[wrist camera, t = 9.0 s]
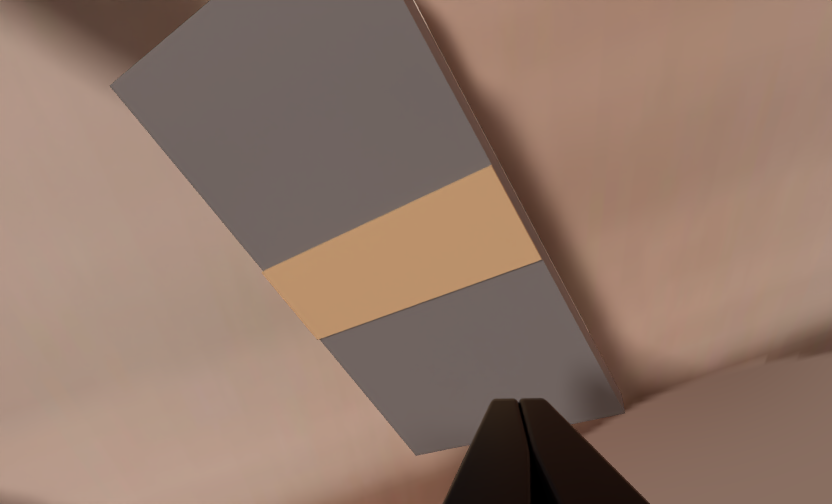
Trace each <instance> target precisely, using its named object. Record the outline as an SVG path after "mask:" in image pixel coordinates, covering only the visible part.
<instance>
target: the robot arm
mask: <svg viewBox="0 0 832 504" xmlns="http://www.w3.org/2000/svg"><path fill="white" fill-rule="evenodd" d="M443 504H650V503H648V501H647V500H646V499H645V498H644V497H643V496H641V494H640V493H639V492H638V491H637V490H636V489H635V488H634V487H633V486H632V485H631V484H630V483H629V482H628V481H626V480H625V478H624V477H622V475H620V473H619V472H618V471H617V470H616V469H615V468H614V467H612V465H611V464H610V463H609V462H608V461H607V460H606V459H605V458H604V457H603V456H602V455H601V454H600V453H598V451H597V450H596V449H595V448H593V446H592V445H591V444H590V443H588V441H587V440H586V439H585V438H584V437H583V436H582V435H581V434H580V433H579V432H578V431H577V430H576V429H575V428H574V427H573V426H572V425H571V424H570V423H569V422H568V421H567V420H566V419H565V418H564V417H563V416H562V415H561V414H560V413H559V412H558V411H557V410H556V409H555V408H554V407H553V406H552V405H551V404H550V403H549V402H548V401H547V400H545V399H544V398H521V399H520V400H519V402H518V401H517V400H516V399H514V398H503V399H493V400H492V401H491V402H490V404H489V407H488V409H487V411H486V413H485V415H484V417H483V419H482V421H481V423H480V426H479V428H478V430H477V432H476V434H475V436H474V438H473V440H472V442H471V444H470V447H469V449H468V451H467V453H466V455H465V457H464V459H463V461H462V463H461V466H460V468H459V470H458V472H457V474H456V476H455V478H454V480H453V482H452V485H451V487H450V489H449V491H448V493H447V495H446V497H445V499H444V501H443Z"/></svg>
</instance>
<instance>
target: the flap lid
mask: <svg viewBox="0 0 832 504" xmlns="http://www.w3.org/2000/svg"><path fill="white" fill-rule="evenodd" d="M110 87H111V88H112V89H113V90H114V92H115V93H116V94H117V95H118V96H119V98H120V99H121V100H122V101H123V103H124V104H125V105H126V106H127V107H128V109H129V110H130V111H131V112H132V113H133V115H134V116H135V117H136V118H137V119H138V121H139V122H140V123H141V124H142V125H143V127H144V128H145V129H146V130H147V131H148V133H149V134H150V135H151V136H152V138H153V139H154V140H155V141H156V142H157V144H158V145H159V146H160V147H161V148H162V150H163V151H164V152H165V153H166V154H167V156H168V157H169V158H170V159H171V160H172V162H173V163H174V164H175V165H176V166H177V168H178V169H179V170H180V171H181V173H182V174H183V175H184V176H185V177H186V179H187V180H188V181H189V182H190V183H191V185H192V186H193V187H194V188H195V189H196V191H197V192H198V193H199V194H200V195H201V197H202V198H203V199H204V200H205V202H206V203H207V204H208V205H209V206H210V208H211V209H212V210H213V211H214V212H215V214H216V215H217V216H218V217H219V218H220V220H221V221H222V222H223V223H224V224H225V226H226V227H227V228H228V229H229V230H230V232H231V233H232V234H233V235H234V237H235V238H236V239H237V240H238V241H239V243H240V244H241V245H242V246H243V247H244V249H245V250H246V251H247V252H248V253H249V255H250V256H251V257H252V258H253V259H254V261H255V262H256V263H257V264H258V265H259V267H260V268H261V269H262V270H263V272H262V274H263V275H264V276H265V277H266V279H267V280H268V281H269V282H270V283H271V285H272V286H273V287H274V288H275V289H276V291H277V292H278V293H279V294H280V295H281V297H282V298H283V299H284V300H285V302H286V303H287V304H288V305H289V306H290V308H291V309H292V310H293V311H294V312H295V314H296V315H297V316H298V317H299V318H300V320H301V321H302V322H303V323H304V324H305V326H306V327H307V328H308V329H309V330H310V332H311V333H312V334H313V335H314V336H315V338H316V339H317V340H319V339H320V340H321V342H322V343H323V344H324V345H325V346H326V348H327V349H328V350H329V351H330V352H331V354H332V355H333V356H334V357H335V358H336V360H337V361H338V362H339V363H340V364H341V366H342V367H343V368H344V369H345V371H346V372H347V373H348V374H349V375H350V377H351V378H352V379H353V380H354V381H355V383H356V384H357V385H358V386H359V387H360V389H361V390H362V391H363V392H364V393H365V395H366V396H367V397H368V398H369V399H370V401H371V402H372V403H373V404H374V406H375V407H376V408H377V409H378V410H379V412H380V413H381V414H382V415H383V416H384V418H385V419H386V420H387V421H388V422H389V424H390V425H391V426H392V427H393V428H394V430H395V431H396V432H397V433H398V435H399V436H400V437H401V438H402V439H403V441H404V442H405V443H406V444H407V445H408V447H409V448H410V449H411V450H412V451H413V453H414V454H415V455H416V456H417V455H422V454H427V453H432V452H437V451H442V450H446V449H451V448H456V447H461V446H466V445H470V444H471V442H472V440H473V438H474V436H475V434H476V432H477V430H478V428H479V426H480V423H481V421H482V419H483V417H484V415H485V413H486V411H487V409H488V407H489V404H490V402H491V401H492V400H493V399H503V398H514V399H516V400H517V401H518V402H519V400H520V399H521V398H544V399H545V400H547V401H548V402H549V403H550V404H551V405H552V406H553V407H554V408H555V409H556V410H557V411H558V412H559V413H560V414H561V415H562V416H563V417H564V418H565V419H566V420H567V421H568V422H569V423H570V424H574V423H579V422H584V421H589V420H594V419H599V418H604V417H609V416H614V415H619V414H624V413H625V410H624V405H623V400H622V395H621V392H620V390H619V389H618V387H617V385H616V383H615V381H614V379H613V377H612V375H611V373H610V372H609V370H608V368H607V366H606V364H605V362H604V360H603V358H602V356H601V355H600V353H599V351H598V349H597V347H596V345H595V343H594V341H593V339H592V338H591V336H590V334H589V332H588V330H587V328H586V326H585V324H584V322H583V320H582V319H581V317H580V315H579V313H578V311H577V309H576V307H575V305H574V303H573V302H572V300H571V298H570V296H569V294H568V292H567V290H566V288H565V286H564V285H563V283H562V281H561V279H560V277H559V275H558V273H557V271H556V269H555V268H554V266H553V264H552V262H551V260H550V258H549V256H548V254H547V252H546V251H545V249H544V247H543V245H542V243H541V241H540V239H539V237H538V235H537V234H536V232H535V230H534V228H533V226H532V224H531V222H530V220H529V218H528V217H527V215H526V213H525V211H524V209H523V207H522V205H521V203H520V201H519V200H518V198H517V196H516V194H515V192H514V190H513V188H512V186H511V184H510V183H509V181H508V179H507V177H506V175H505V173H504V171H503V169H502V167H501V166H500V164H499V162H498V160H497V158H496V156H495V154H494V152H493V150H492V149H491V147H490V145H489V143H488V141H487V139H486V137H485V135H484V133H483V131H482V130H481V128H480V126H479V124H478V122H477V120H476V118H475V116H474V114H473V113H472V111H471V109H470V107H469V105H468V103H467V101H466V99H465V97H464V96H463V94H462V92H461V90H460V88H459V86H458V84H457V82H456V80H455V79H454V77H453V75H452V73H451V71H450V69H449V67H448V65H447V63H446V62H445V60H444V58H443V56H442V54H441V52H440V50H439V48H438V46H437V45H436V43H435V41H434V39H433V37H432V35H431V33H430V31H429V29H428V28H427V26H426V24H425V22H424V20H423V18H422V16H421V14H420V12H419V11H418V9H417V7H416V5H415V3H414V1H413V0H210V1H209V2H208V3H207V4H205V5H204V6H203V7H202V8H201V9H199V10H198V11H197V12H196V13H195V14H194V15H192V16H191V17H190V18H189V19H188V20H187V21H185V22H184V23H183V24H182V25H181V26H179V27H178V28H177V29H176V30H175V31H174V32H172V33H171V34H170V35H169V36H168V37H166V38H165V39H164V40H163V41H162V42H161V43H159V44H158V45H157V46H156V47H155V48H153V49H152V50H151V51H150V52H149V53H148V54H146V55H145V56H144V57H143V58H142V59H140V60H139V61H138V62H137V63H136V64H135V65H133V66H132V67H131V68H130V69H129V70H127V71H126V72H125V73H124V74H123V75H122V76H120V77H119V78H118V79H117V80H116V81H115V82H113V83H112V84H111V85H110Z"/></svg>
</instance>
